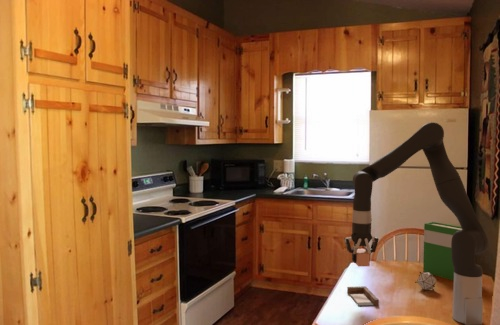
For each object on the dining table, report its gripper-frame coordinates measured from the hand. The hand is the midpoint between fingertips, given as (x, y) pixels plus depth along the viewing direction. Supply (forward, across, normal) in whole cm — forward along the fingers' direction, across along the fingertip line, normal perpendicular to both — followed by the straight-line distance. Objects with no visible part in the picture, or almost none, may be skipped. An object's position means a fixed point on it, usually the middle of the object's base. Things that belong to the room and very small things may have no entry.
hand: (361, 262), depth 174 cm
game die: (+16, -32, -8) cm, 37 cm away
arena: (+15, -1, 0) cm, 15 cm away
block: (0, 0, 0) cm, 0 cm away
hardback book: (+16, -50, -26) cm, 58 cm away
